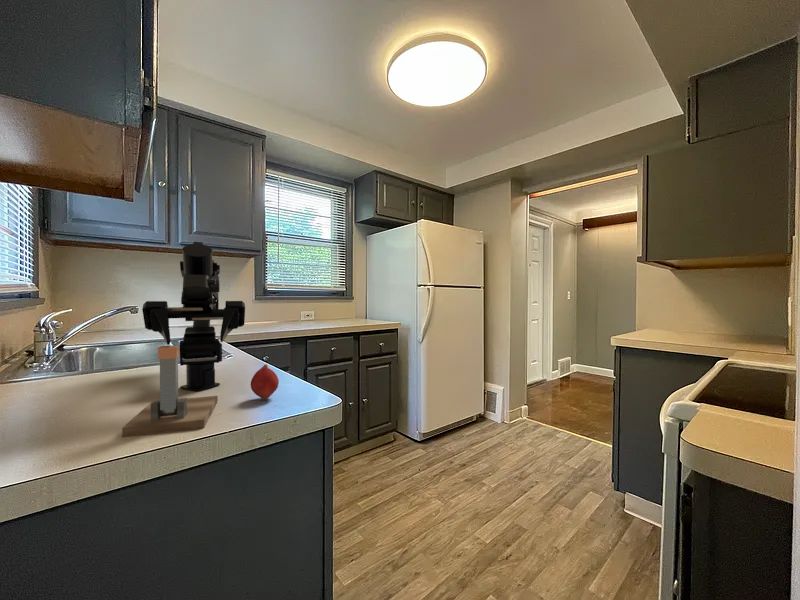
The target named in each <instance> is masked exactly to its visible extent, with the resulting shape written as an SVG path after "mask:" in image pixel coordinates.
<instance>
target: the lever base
mask: <svg viewBox="0 0 800 600" xmlns="http://www.w3.org/2000/svg"><path fill="white" fill-rule="evenodd" d="M218 401H219V400H218V395H211V396H199V397H198V396H197V397H181V398H178V402H177V415H171V416H160V399H157V400H155V399H154V400H152V401H151V402H150V403H149V404H148V405H146V406H145V407H144V408H143V409H142V410H140V411H139V412H138V413H137V414H136V415H135V416H134V417H133V418H132V419H130V420H129V421H128V422H127V423H126V424H125V425H123V426H122V428H121V437H122V438H123V437H133V436H140V435H153V434H160V433H161V434H162V433H169V432H170V433H171V432H179V431H187V430H188V431H189V430H197V429H198V430H199V429H204V428H205V426H206V425H207V423H208V422H209V419H210V417H211V415H212V414H213V412H214V410H215V408H216V407H217V405H216V404H218V403H217V402H218Z"/></svg>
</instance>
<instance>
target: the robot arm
mask: <svg viewBox="0 0 800 600" xmlns="http://www.w3.org/2000/svg"><path fill="white" fill-rule="evenodd" d="M179 269H180V273H181V277H182V291H181V297H180V302H181V303H180V304H181V305H182V306H168V301H167V300H166V301H165V300H155V301H154V300H149V301H148V300H147V301H145V302H144V303H143V304H142V309H141V310H142V311H141V312H142V315H143V316H142V317H143V322H144V328H145V329H147V331H148V330H149V331H152V332H156V333H157V332H158V333H159V334H160V335H161V336H162V338H163V339H164V341H165V343H166V346H171V345H170V344H171V332H170V319H185V320H184V321H185V322H193V323H192V326H187V327H186V328H185V329H184V334H183V338H182V340H180V341H179V345H180V356H179V365H180V366H185V367H186V384H184V385H183V384H182V385H180V389H184V390H189V391H195V392H199V391H203V390H207V389H211V388H215V387H218V386H220V385H221V383H219V382H217V381H216V369H215V364H216V363H217V364H219V362H223V344H222V343H223V342H224V341H225V340H226V338H227V337H228V335H230V333H231V332H232V331H233V330H235V329H238V328H241V327H243V326H245V319H246V318H245V317H246V305H245V302H244V301H243V300H225V304H224V305H225V307H224V308H220V307H219V303H220V302H219V293H220V276H219V275H220V274H221V273H220V272H221V265H220V264H218V262H215V260H214V259H213V249H212V248H211V247H210V246H208V245H206V244H204V242H202V241H193V243H191V244H190V243H189V244H187V245H185V246H183V247H182V260H181V261H179ZM217 320H218V321H219V320H222V321H221V329H220V334H219V335H220V339H219V338H216V337H217V335H216V334H217V333H216V329H215V326H213V325H212V326H211V321H217Z"/></svg>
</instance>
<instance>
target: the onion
mask: <svg viewBox="0 0 800 600" xmlns="http://www.w3.org/2000/svg"><path fill="white" fill-rule="evenodd" d="M279 382H280V380H279V377H278V376H277V374H276V372H275V371H274V370H273V369H271V368H269V366H268V364H267V363H266V364H263V366H262V367H261V368H259V369H258V370H257V371H256V372H255V373H254V375H253V376H252V378H251V380H250V389H251V391H252V392H253V393H254V394H255V395H256V396H257V397H259V398H260V399H262V400H263V401H264V400H268V399H269V398H270V397H271V396H272V395H273V394H274V393H275V392H276V390H277V389H278V387H279Z"/></svg>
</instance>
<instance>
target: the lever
mask: <svg viewBox="0 0 800 600" xmlns="http://www.w3.org/2000/svg"><path fill="white" fill-rule="evenodd" d="M179 358H180V344H179V345H161V346H159V347H158V348H157V359H158V360H159V400H160V416H171V415H177V402H178V399H179Z"/></svg>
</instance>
